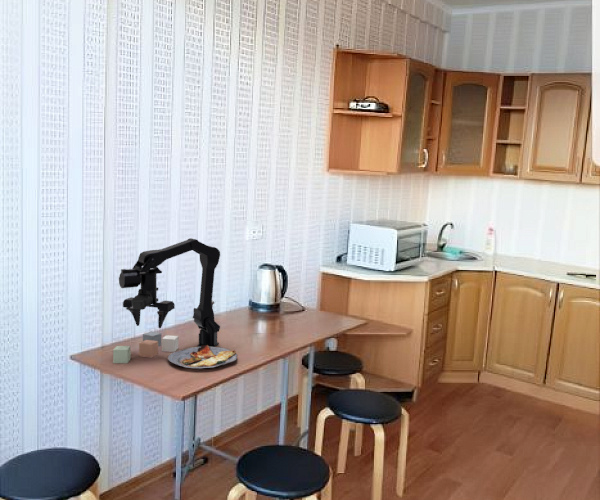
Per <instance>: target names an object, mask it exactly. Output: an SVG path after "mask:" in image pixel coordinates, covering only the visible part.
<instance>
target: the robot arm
mask: <svg viewBox="0 0 600 500" xmlns="http://www.w3.org/2000/svg"><path fill="white" fill-rule="evenodd" d="M190 251H193V252H195V253H196V254H198V255H199V262H200V265H201V268H202V269H201V282H200V293H199V305H198V306H197V307H196V308H195V307H194V308H193V316H192V319H193V321H194V324H196V325H197V328H198V330H199V333H198V344H197V347H201V346H202V345H205V346H207V345H209V346H212V347H217V346H218V345H219V344H220V343H219V341H218V332H220V329H221V325H219V324H218V323H217V322H216V321H215V312H214V309H213V307H212V300H213V292H214V291H213V290H214V281H215V280H214V279H215V270H216V269H217V266H218V265H219V262H220V257H221V251H220V250H219V249H218V248H217V247H215V246H210V245H207V244H205V243H203V242H201V241H199V240H198V239H196V238H195V239H194V238H188V239H186V240H183V241H180V242H177V243H175V244H172V245H169V246H166V247H164V248H159V249H150V250H145V251H142V252H141V253H140V254H139V256H138V260H137V261H136V262H135V263H134V265H133V266H132V268H129V269H127V268H123V269H120V274H119V276H118V283H119V286H120V289H129V288H137V287H139V286H140V288H139V289H138V291H137V293H138V294H137V295H135V296H134V297H132V296H131V297H128V298H125V299H124V300H123V302H122V307H123V308H125V310H128V311H129V312H130V313H131V315H132V317H133V320H134V321H135V322H134V323H135V325H136V326H137V327H139V326H140V324H141V323H140V322H141V311H142V310H145V309H146V307H147V308H157V312H156V313H157V315H158V319H157V320H158V325H157V327H158V329H161V328H162V327H163V324H164V322H165V320H166V317H167V315H168V314H169V312H171V311H172V310H174V309H176V308H175V303H174V301H173V300H172V301H171V300H163V301H160V302H159V298H158V297H157V292H158V291H159V287H157V286H158V285H157V275H158V274H162V273H163V271H162V270H161V269H160V267H158V266H160V265H162V264H163V263H164V262H165V261H167V260H169V259H172V258H174V257H178V256H179V255H183V254H186V253H188V252H190Z"/></svg>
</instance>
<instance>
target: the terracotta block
mask: <svg viewBox="0 0 600 500" xmlns="http://www.w3.org/2000/svg"><path fill="white" fill-rule="evenodd" d="M138 349H139V350H138V352H139V355H138V356H139V357H144V358H153V357H155V356H157V355H159V346H158V341H152V340H145V341H143V340H142V341H141V342H139V343H138Z"/></svg>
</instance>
